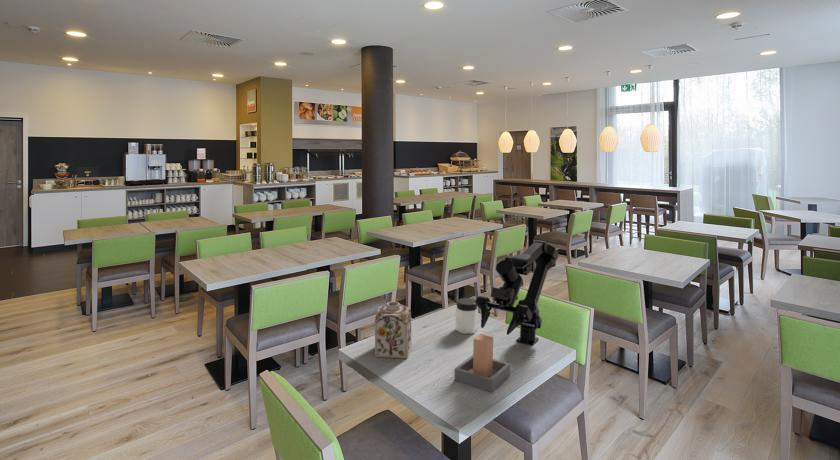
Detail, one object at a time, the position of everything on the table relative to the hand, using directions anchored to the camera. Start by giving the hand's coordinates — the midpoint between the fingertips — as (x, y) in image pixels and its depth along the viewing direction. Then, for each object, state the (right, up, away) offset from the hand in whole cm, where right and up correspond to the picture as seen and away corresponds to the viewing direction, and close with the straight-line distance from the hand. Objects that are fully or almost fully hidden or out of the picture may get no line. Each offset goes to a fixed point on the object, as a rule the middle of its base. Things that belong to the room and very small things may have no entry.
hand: (494, 330), depth 150 cm
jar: (-6, -7, +35) cm, 36 cm away
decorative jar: (-34, -11, +16) cm, 39 cm away
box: (-4, -14, -3) cm, 15 cm away
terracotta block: (-4, -13, -4) cm, 14 cm away
